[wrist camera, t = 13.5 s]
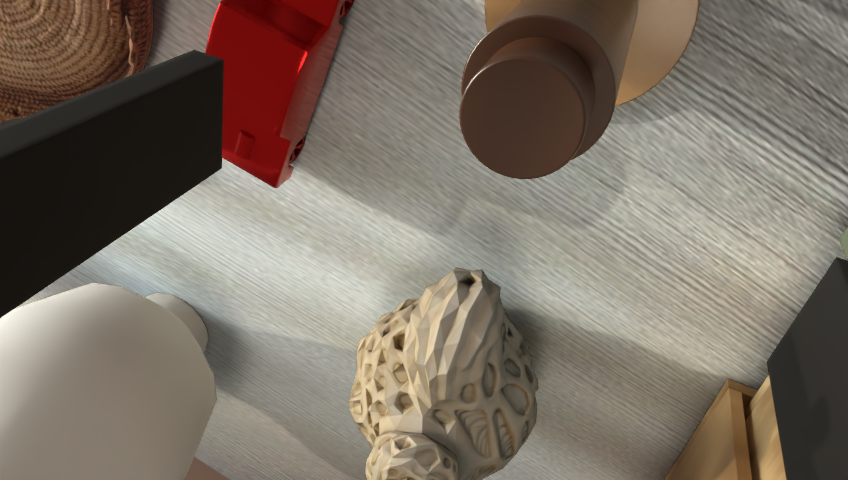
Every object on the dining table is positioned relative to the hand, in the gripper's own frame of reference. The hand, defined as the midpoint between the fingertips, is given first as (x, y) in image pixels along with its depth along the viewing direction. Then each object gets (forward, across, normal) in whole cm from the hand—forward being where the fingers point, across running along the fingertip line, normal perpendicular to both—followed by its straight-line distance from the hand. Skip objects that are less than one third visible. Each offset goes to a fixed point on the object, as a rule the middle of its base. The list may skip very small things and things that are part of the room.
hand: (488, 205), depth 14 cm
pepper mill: (+21, 0, 0) cm, 21 cm away
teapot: (+22, -2, -23) cm, 32 cm away
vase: (+22, -24, -32) cm, 46 cm away
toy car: (+22, -16, -7) cm, 28 cm away
